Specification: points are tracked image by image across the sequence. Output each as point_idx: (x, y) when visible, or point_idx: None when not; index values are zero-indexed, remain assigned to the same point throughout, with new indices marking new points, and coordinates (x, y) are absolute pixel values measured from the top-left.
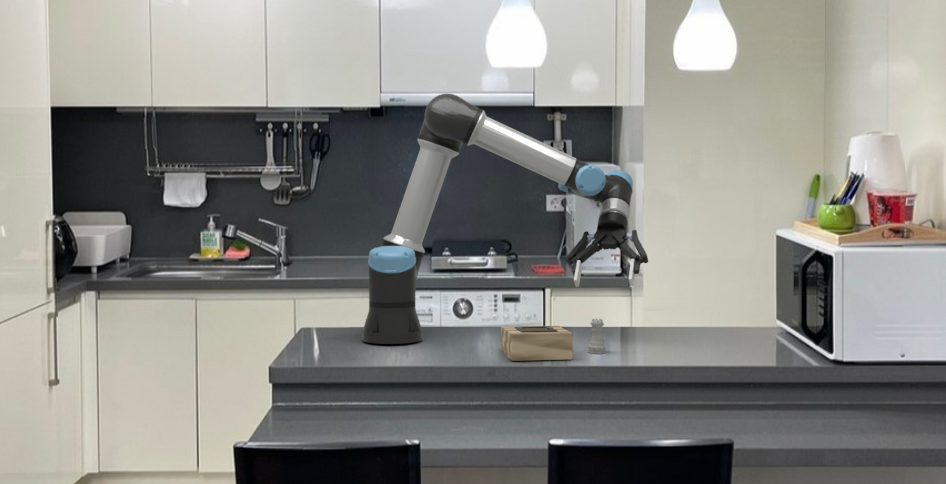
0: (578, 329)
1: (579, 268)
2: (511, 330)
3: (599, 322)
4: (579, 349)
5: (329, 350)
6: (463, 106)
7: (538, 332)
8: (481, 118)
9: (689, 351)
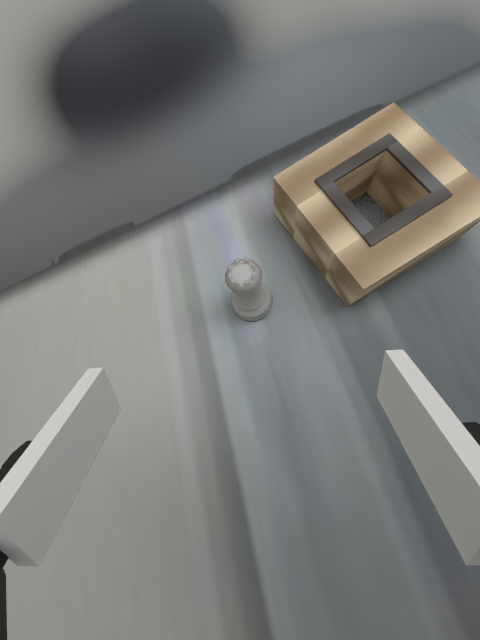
0: (419, 636)
1: (437, 445)
2: (431, 153)
3: (233, 264)
4: (296, 314)
5: None
6: None
7: (350, 152)
8: None
9: None
